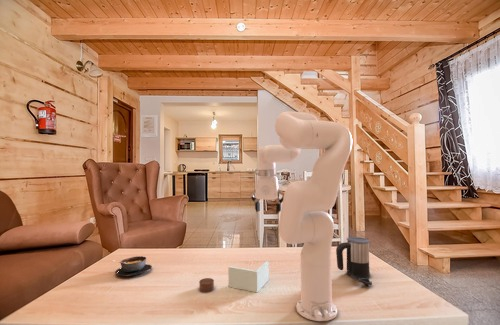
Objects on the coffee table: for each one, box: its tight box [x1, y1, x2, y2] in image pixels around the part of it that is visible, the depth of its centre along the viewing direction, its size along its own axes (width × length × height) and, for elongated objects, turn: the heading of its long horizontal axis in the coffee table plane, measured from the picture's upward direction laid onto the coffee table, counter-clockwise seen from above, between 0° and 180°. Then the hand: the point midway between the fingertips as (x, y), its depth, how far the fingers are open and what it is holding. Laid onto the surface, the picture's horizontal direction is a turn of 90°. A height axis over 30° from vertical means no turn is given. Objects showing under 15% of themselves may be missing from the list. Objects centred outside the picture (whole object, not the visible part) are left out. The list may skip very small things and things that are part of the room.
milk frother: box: [335, 236, 373, 287], centre depth 108 cm, size 14×16×15 cm
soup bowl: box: [111, 255, 153, 278], centre depth 117 cm, size 15×16×7 cm
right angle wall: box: [227, 260, 270, 293], centre depth 105 cm, size 12×12×8 cm
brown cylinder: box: [198, 277, 215, 293], centre depth 100 cm, size 5×5×3 cm
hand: (267, 211), depth 119 cm, fingers open, 9 cm apart
